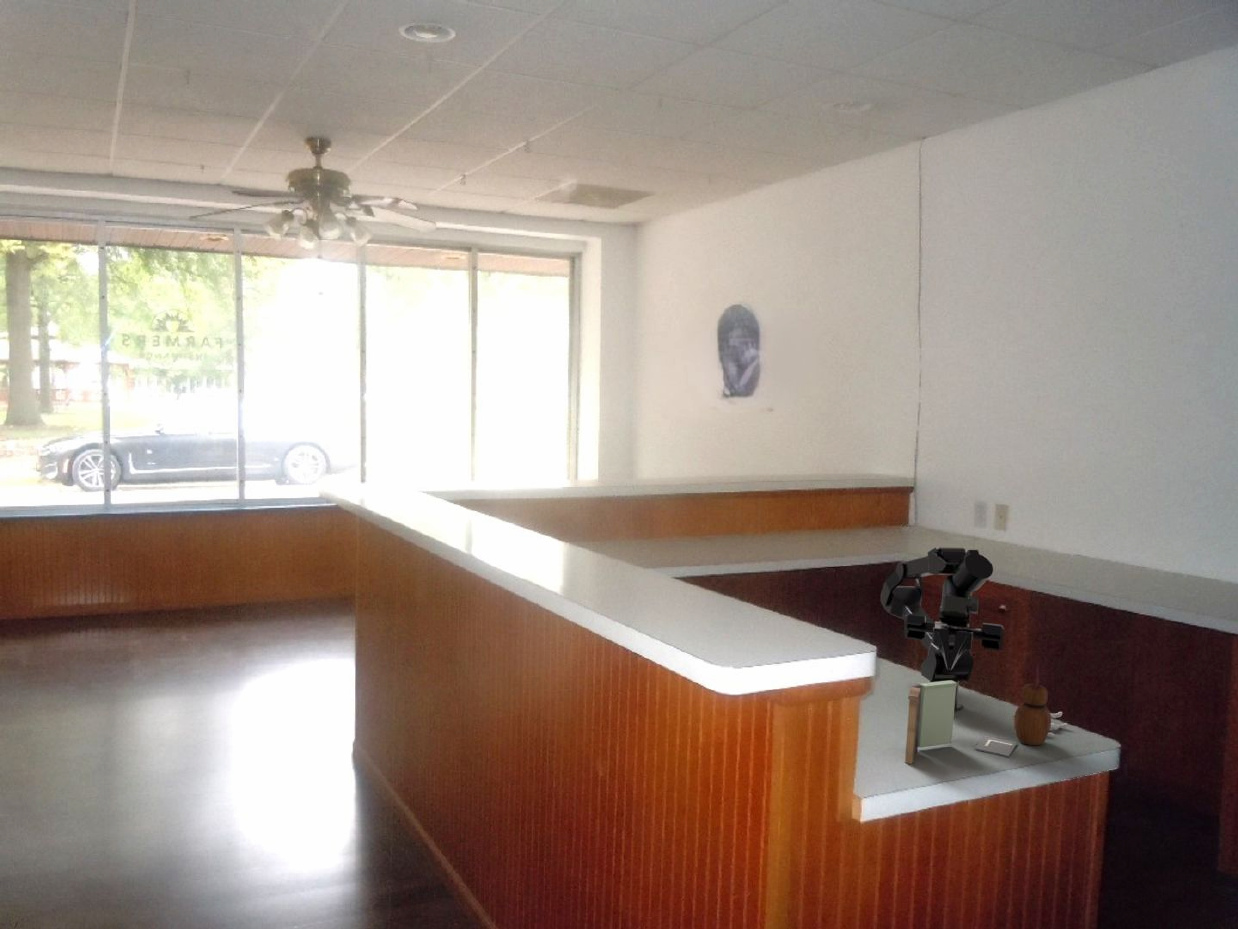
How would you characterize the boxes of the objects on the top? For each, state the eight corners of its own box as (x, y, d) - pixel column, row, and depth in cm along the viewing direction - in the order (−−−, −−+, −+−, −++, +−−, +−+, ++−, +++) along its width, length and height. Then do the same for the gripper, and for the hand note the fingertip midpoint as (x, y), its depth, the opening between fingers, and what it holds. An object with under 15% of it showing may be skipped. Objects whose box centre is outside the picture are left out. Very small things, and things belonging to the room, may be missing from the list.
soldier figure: (1075, 739, 198) (1041, 730, 192) (1054, 750, 201) (1020, 741, 194) (1058, 703, 203) (1024, 693, 196) (1038, 714, 206) (1004, 704, 199)
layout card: (983, 737, 194) (984, 735, 194) (1016, 744, 191) (1016, 742, 191) (975, 749, 187) (975, 747, 187) (1008, 757, 184) (1009, 755, 184)
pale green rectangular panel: (920, 748, 185) (925, 686, 184) (914, 745, 186) (919, 683, 185) (952, 743, 188) (957, 682, 187) (946, 740, 189) (951, 680, 188)
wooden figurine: (1024, 734, 197) (1031, 659, 195) (1053, 743, 192) (1060, 667, 191) (1007, 741, 192) (1013, 665, 191) (1036, 751, 188) (1043, 673, 187)
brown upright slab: (906, 748, 186) (911, 682, 185) (917, 750, 186) (922, 684, 185) (902, 762, 180) (907, 694, 178) (914, 764, 179) (919, 696, 178)
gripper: (908, 574, 202) (898, 640, 193) (1007, 584, 195) (1002, 654, 186) (909, 604, 210) (900, 669, 201) (1004, 615, 203) (999, 684, 194)
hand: (949, 668), depth 195 cm, fingers closed
